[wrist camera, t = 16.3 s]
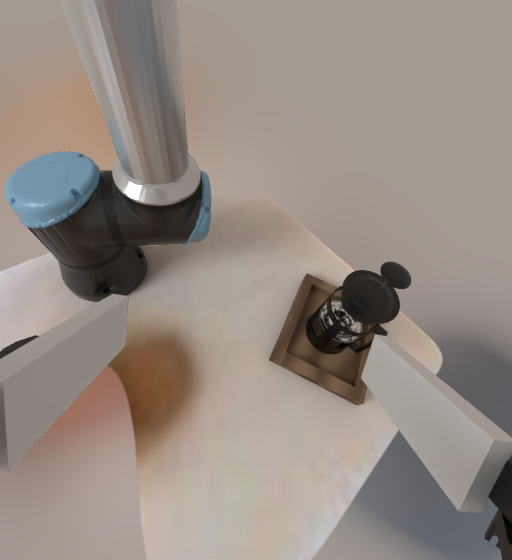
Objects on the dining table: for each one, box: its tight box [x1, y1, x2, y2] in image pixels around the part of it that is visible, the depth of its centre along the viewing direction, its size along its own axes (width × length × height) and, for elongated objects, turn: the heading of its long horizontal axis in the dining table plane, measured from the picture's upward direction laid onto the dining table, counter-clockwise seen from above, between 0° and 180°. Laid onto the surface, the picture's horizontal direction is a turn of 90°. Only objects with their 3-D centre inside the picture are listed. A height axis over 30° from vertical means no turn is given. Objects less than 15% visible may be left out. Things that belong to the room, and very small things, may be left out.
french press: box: [305, 262, 411, 355], centre depth 42 cm, size 12×9×23 cm
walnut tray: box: [269, 274, 375, 405], centre depth 51 cm, size 18×21×2 cm
